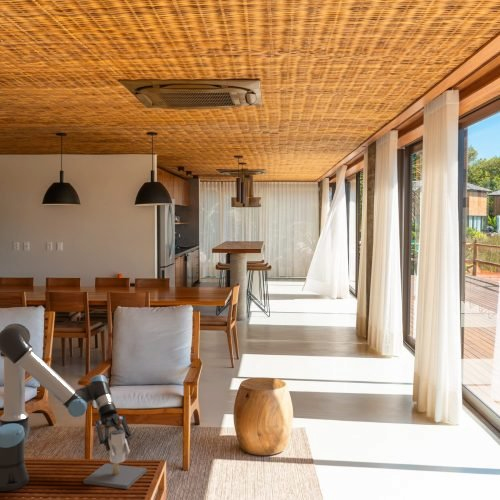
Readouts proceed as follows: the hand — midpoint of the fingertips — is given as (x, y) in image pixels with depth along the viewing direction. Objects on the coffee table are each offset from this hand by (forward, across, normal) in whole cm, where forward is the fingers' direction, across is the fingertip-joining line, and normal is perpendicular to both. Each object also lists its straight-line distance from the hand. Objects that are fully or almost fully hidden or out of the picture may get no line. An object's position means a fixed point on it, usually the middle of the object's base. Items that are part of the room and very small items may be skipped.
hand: (120, 455), depth 239 cm
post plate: (+5, +1, -10) cm, 11 cm away
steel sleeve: (0, 0, -5) cm, 5 cm away
